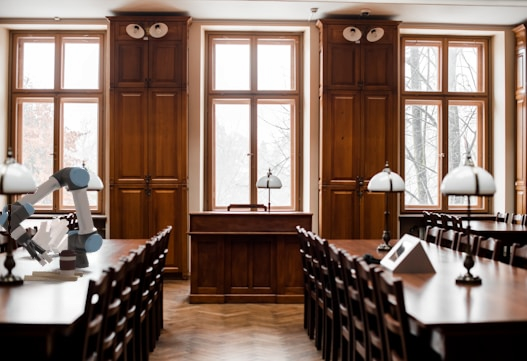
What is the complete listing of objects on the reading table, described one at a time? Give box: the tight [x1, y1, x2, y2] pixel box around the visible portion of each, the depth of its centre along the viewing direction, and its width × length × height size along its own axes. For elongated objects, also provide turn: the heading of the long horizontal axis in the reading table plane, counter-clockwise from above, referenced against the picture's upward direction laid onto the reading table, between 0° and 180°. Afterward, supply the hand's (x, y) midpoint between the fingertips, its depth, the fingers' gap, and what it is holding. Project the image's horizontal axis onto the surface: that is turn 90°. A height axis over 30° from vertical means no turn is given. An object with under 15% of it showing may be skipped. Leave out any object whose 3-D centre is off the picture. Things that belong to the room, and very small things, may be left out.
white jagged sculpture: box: [31, 218, 70, 259], centre depth 417 cm, size 35×30×35 cm
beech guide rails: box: [23, 270, 84, 282], centre depth 319 cm, size 16×28×2 cm, turn 96°
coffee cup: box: [57, 250, 77, 276], centre depth 320 cm, size 10×10×15 cm
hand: (48, 263), depth 319 cm, fingers open, 13 cm apart
